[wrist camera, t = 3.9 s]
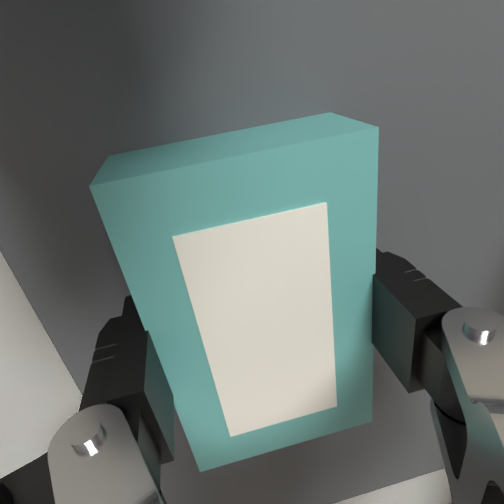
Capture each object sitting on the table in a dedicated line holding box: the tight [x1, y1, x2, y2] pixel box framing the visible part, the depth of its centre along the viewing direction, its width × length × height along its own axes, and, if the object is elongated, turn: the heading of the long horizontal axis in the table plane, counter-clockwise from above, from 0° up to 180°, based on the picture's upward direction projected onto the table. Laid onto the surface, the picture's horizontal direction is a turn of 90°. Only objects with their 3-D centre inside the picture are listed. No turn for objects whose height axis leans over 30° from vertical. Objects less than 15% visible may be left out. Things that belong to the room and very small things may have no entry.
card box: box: [89, 112, 379, 472], centre depth 10 cm, size 9×6×2 cm, turn 8°
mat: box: [0, 0, 504, 504], centre depth 13 cm, size 22×26×1 cm
